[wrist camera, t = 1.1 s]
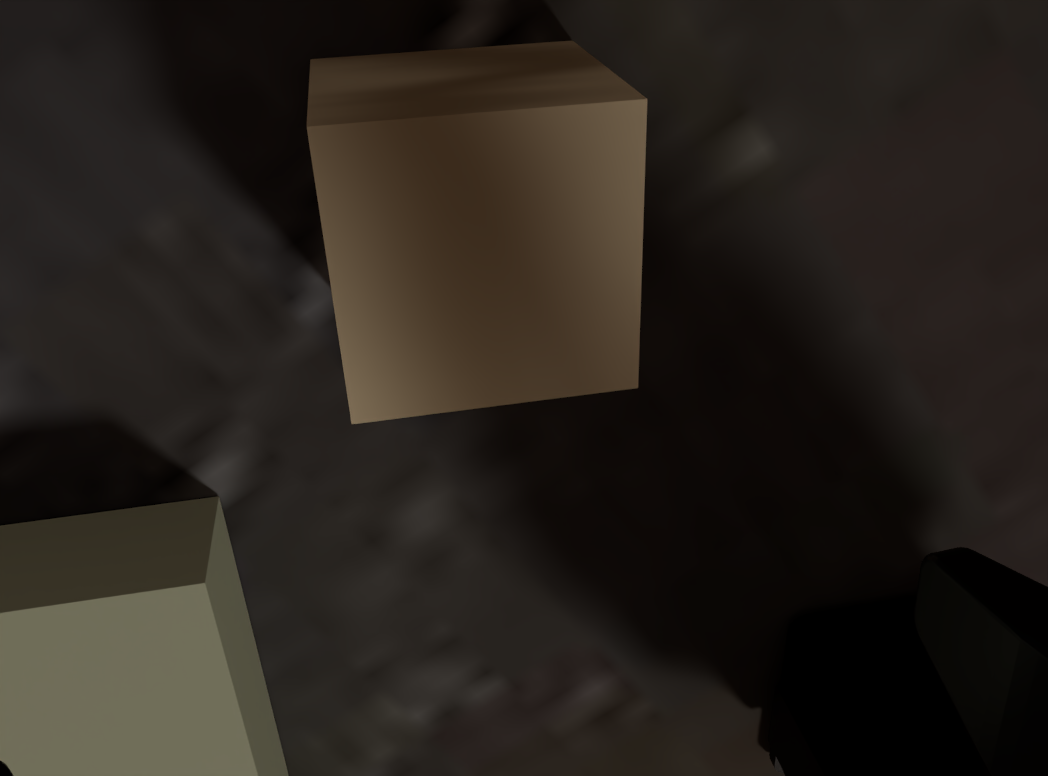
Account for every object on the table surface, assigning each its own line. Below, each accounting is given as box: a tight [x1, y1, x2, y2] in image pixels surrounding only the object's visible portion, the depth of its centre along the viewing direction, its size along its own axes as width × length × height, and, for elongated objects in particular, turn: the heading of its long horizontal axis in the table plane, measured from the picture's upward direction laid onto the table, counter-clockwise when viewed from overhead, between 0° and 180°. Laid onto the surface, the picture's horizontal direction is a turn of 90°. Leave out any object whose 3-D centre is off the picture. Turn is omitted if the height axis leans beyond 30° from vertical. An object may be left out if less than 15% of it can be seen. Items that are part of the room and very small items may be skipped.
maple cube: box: [307, 41, 647, 424], centre depth 17 cm, size 5×5×5 cm
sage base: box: [0, 496, 289, 776], centre depth 23 cm, size 12×12×3 cm
